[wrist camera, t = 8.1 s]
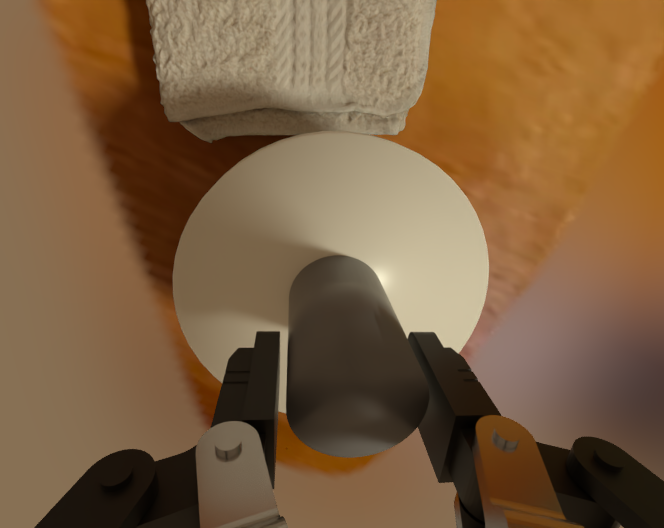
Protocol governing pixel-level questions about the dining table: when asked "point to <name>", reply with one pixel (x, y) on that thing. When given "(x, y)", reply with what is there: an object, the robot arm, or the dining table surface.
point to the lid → (334, 279)
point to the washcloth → (290, 64)
